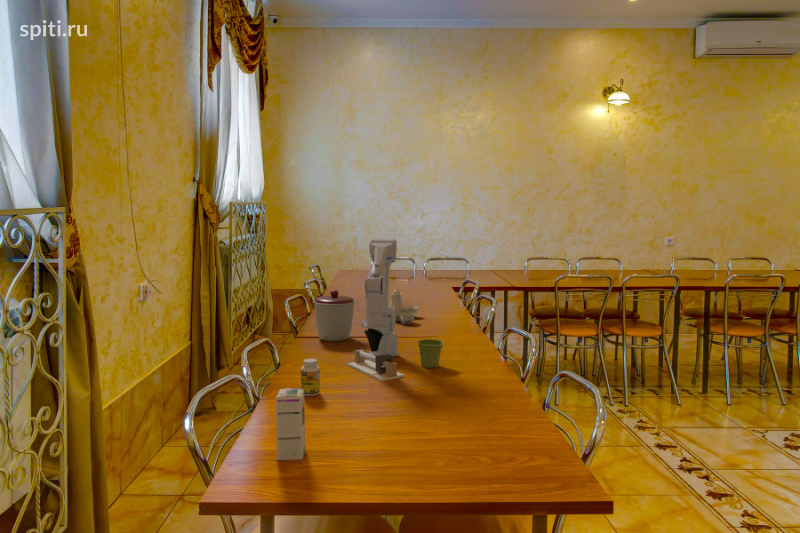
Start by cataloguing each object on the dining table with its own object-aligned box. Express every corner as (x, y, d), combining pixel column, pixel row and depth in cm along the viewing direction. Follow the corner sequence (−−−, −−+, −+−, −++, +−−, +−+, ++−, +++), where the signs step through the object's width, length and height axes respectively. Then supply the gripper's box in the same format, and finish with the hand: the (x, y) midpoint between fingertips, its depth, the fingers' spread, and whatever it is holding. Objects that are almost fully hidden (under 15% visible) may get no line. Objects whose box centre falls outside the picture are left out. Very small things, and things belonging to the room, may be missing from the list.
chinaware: (417, 329, 268) (421, 295, 266) (382, 325, 268) (386, 291, 266) (417, 318, 296) (421, 287, 294) (386, 314, 296) (389, 283, 294)
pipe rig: (347, 365, 198) (347, 351, 198) (369, 361, 203) (369, 348, 203) (381, 381, 180) (381, 365, 180) (404, 376, 185) (404, 361, 185)
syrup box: (303, 460, 123) (302, 395, 121) (275, 461, 122) (275, 396, 121) (305, 449, 128) (305, 387, 127) (279, 449, 128) (278, 388, 126)
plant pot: (447, 364, 201) (447, 340, 201) (437, 371, 193) (438, 346, 192) (422, 361, 205) (423, 337, 204) (412, 367, 197) (413, 343, 196)
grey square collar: (375, 371, 187) (375, 356, 186) (388, 369, 189) (388, 353, 189) (379, 373, 185) (379, 357, 184) (392, 370, 188) (392, 355, 187)
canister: (344, 345, 228) (345, 294, 225) (305, 341, 233) (305, 291, 231) (362, 336, 245) (362, 288, 243) (324, 333, 250) (324, 286, 248)
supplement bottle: (297, 395, 165) (297, 361, 164) (306, 390, 171) (306, 357, 170) (314, 397, 164) (314, 363, 163) (322, 392, 169) (322, 358, 168)
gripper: (353, 309, 194) (353, 347, 195) (375, 316, 182) (375, 357, 183) (370, 307, 198) (370, 345, 199) (393, 314, 186) (393, 354, 187)
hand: (374, 350), depth 192 cm, fingers closed
